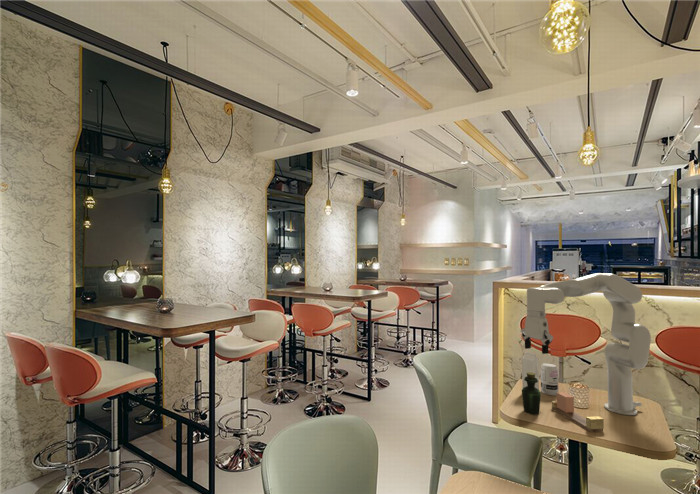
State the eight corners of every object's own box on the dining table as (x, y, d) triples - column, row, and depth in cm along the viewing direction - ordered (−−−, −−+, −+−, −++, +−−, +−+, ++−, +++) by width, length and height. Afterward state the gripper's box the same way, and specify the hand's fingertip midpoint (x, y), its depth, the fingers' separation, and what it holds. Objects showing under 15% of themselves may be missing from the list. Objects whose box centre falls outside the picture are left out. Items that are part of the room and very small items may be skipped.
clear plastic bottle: (533, 397, 184) (533, 354, 185) (522, 393, 189) (521, 352, 190) (539, 394, 188) (538, 352, 189) (527, 390, 193) (527, 350, 194)
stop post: (599, 425, 150) (598, 416, 150) (603, 428, 147) (603, 418, 147) (586, 426, 149) (586, 416, 149) (590, 429, 146) (590, 419, 147)
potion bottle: (518, 410, 168) (517, 371, 169) (530, 407, 171) (529, 369, 172) (532, 417, 161) (532, 377, 161) (545, 414, 164) (544, 374, 165)
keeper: (564, 406, 168) (564, 392, 169) (573, 412, 162) (573, 396, 163) (556, 407, 168) (556, 392, 168) (566, 412, 162) (565, 397, 162)
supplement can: (544, 389, 196) (544, 361, 196) (560, 393, 189) (560, 365, 190) (538, 392, 191) (537, 364, 191) (554, 397, 184) (554, 368, 185)
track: (563, 408, 170) (563, 400, 170) (603, 431, 148) (603, 422, 148) (552, 408, 170) (551, 401, 170) (590, 431, 147) (590, 423, 147)
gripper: (558, 316, 158) (558, 355, 157) (527, 311, 174) (527, 346, 174) (545, 317, 156) (546, 356, 155) (515, 311, 172) (515, 347, 171)
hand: (536, 350), depth 164 cm, fingers open, 9 cm apart
